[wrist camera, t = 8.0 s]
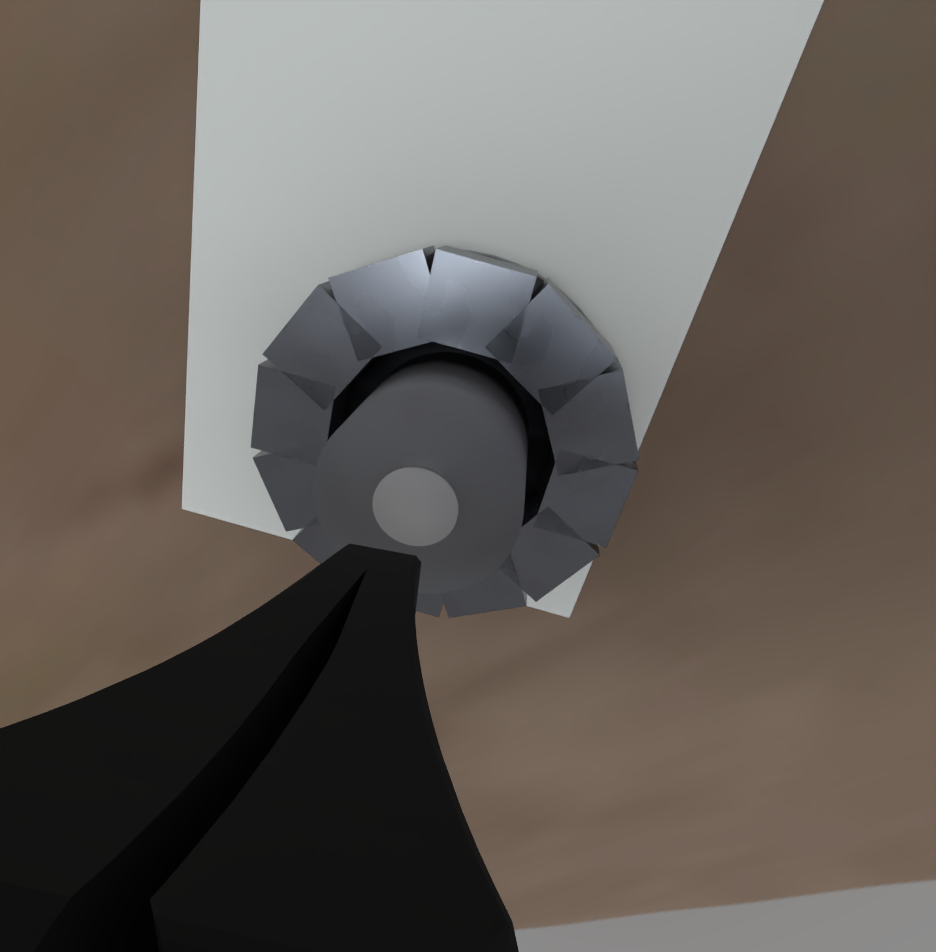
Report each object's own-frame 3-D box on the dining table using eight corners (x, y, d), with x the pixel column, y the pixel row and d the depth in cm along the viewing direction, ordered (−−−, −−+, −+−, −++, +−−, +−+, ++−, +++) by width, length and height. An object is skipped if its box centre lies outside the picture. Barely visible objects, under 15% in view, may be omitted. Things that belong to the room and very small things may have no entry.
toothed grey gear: (678, 306, 17) (700, 322, 14) (560, 603, 22) (562, 652, 19) (310, 204, 17) (273, 203, 15) (273, 522, 22) (240, 561, 19)
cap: (535, 357, 17) (533, 413, 12) (521, 510, 19) (515, 608, 14) (366, 346, 17) (301, 395, 13) (371, 496, 19) (316, 587, 15)
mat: (944, -306, 12) (956, -322, 11) (569, 610, 22) (569, 617, 22) (229, -500, 12) (220, -522, 12) (187, 503, 22) (181, 508, 22)
